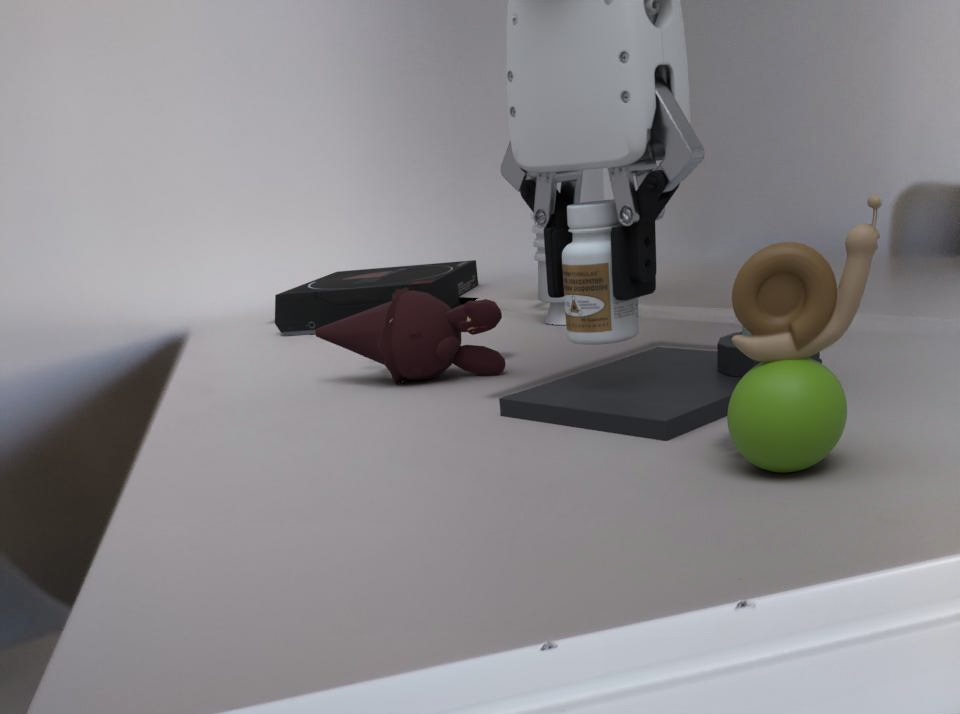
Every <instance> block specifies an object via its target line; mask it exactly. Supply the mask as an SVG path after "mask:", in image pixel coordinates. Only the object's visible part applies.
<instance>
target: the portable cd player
mask: <svg viewBox="0 0 960 714" xmlns="http://www.w3.org/2000/svg"><path fill="white" fill-rule="evenodd" d="M478 286H479V277H478V267H477V259H473V260H471V259H470V260H461V261H449V262H438V263H437V262H436V263H435V262H434V263H424V264H412V265H411V264H410V265H401V266H388V267H375V268H363V269H353V270H341V271H340V270H339V271H335V272H332V273H329V274H327V275H325V276H322V277H319V278H317V279H314V280H311V281H309V282H306V283H304V284H300V285H298V286H295V287H292V288H290V289H288V290H284V291H282V292H280V293H277V294H274V295H275V297H274V324H275V326H276V328H277V330H278V331H279V332H280V334H281V335H282V337H286V336H289V337H290V336H304V334H305V335H315V330H316V329H318V328H320V327H322V326H325V325H328V324H330V323H333V322H336V321H339V320H341V319H344V318H347V317H349V316H352V315H355V314H357V313H360V312H363V311H366V310H368V309H371V308H374V307H376V306H379V305H382V304H384V303H387V302H390V301H393V298H392V295H393V293H394V292H395V291H396V289H400V290H401V289H403V288H405V287H406V288H408V289H409V291H412V290H413V291H419V292H425V293H429V294H430V295H432V296H434V297H436V298H438V299H439V300H441V301H442V302H444V303H445V304H447V305H448V306H449V307H450V308H451V309H454V308H456V307H458V306H460V305H464V304H465V303H466V302H468V301H475V300H476V299H478V298H479V297H465V296H463V295H466V294H467V293H468V292H470V291H472V290H474V289H475V288H477V287H478ZM478 300H479V299H478ZM476 301H477V300H476Z"/></svg>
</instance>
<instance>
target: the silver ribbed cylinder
mask: <svg viewBox="0 0 960 714" xmlns="http://www.w3.org/2000/svg"><path fill="white" fill-rule="evenodd" d="M560 189H561V182H559V183H557V190H558V191H559V192H560ZM600 200H605V181H604V168H600V169H588V170H583V176H582V185H581V194H580V203H583V202H591V201H600ZM533 215H534V213H533V211H532V210H531V213H530V219H531V220H534V219H533ZM543 229H544V228H538V227H537V226H536V225H535V224H533V226H532V227H531V232H532V234H535V238H534V239H533V241H532V246H533V247H535V248H536V250H537V251H535V253H534V254H533V258H534V259H533V260H534V261H536V262H537V299H538V301H540V302H541V303H547V304H548V303H549V306H548V309H547V313H546V316H545V318H544V323H545V324H547V323H548V324H547V325H552V324H553V325H554V326H566V315H565V300H564V297H560V298H551V297H550V296H549V295H548V288H547V274H546V260H545V245H544V231H543Z"/></svg>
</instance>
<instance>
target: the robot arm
mask: <svg viewBox="0 0 960 714" xmlns="http://www.w3.org/2000/svg"><path fill="white" fill-rule="evenodd" d="M685 34H686V33H685V23H684V17H683V11H682V4H681V0H507V14H506V37H505V38H506V39H505V40H506V41H505V75H506V104H507V119H508V131H509V139H510V140H509V143H508V145H507V148H506V151H505V154H504V156H503V159H502V161H501V162H502V163H501V164H500V174H501V176H502V177H503V179H505V181H506V182H507V183H509V184H510V185H511V186H512V187H513V188H514V190H516V191H517V192H518V193H520V197H521V198H522V200H523V201H524V202H525V204H526V205H527V207H528V208H529V209H530V211H531V212H532V211H533V213H534V215H533V219H532V220H533V223H534V225H536V226H537V227H538V228H544V229H543V231H544V245H545V260H546V274H547V288H548V295H549V296H550V297H551V298H560V297H564V286H563V269H562V252H563V249H564V248H565V247H566V246H567V245H568V244H570V243H572V241H573V237H572V236H573V234H572V232H569V231H568V230H569V229H570V228H569V226H568V222H567V206H568V205H572V204H576V203H580V194H581V185H582V176H583V170H588V169H600V168H603V169H607V173H608V177H609V181H610V186H611V190H612V196H613V199H614V201H615V205H616V210H617V215H618V219H619V221H620V223H621V226H616V227H611V230H612V231H611V235H610V236H611V258H612V281H613V295H614V297H615V298H616V300H624V301H626V300H630V299H633V298H637V297H638V298H640V297H644V296H648V295H651V294H653V293H654V292H656V289H657V238H656V237H657V236H656V235H657V233H656V221H660V220H661V219H662V218H663V217H664V215H665V214H666V206H667V204H668V203H669V202H670V200H671V199H672V197H673V196H674V195H675V193H676V191H677V190H679V189H678V188H679V187H680V185H681V182H683V181H685V180H686V178H687V177H688V176H690V174H692V172H693V171H694V170H695V169H696V168H697V167H698V166H699V165H700V164H701V163H702V162H703V160H704V158H705V154H706V153H705V149H704V146H703V144H702V142H701V141H700V139H699V138H698V136H697V134H696V132H695V130H694V129H693V127H692V124H691V98H690V97H691V96H690V79H689V65H688V64H689V63H688V52H687V44H686V35H685ZM659 161H660V162H659ZM657 162H659V165H658V164H657ZM634 177H635V179H634ZM635 181H636V183H635ZM559 182H561V189H560V192H559V191H558V190H557V183H559ZM636 186H637V188H636Z"/></svg>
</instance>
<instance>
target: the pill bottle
mask: <svg viewBox="0 0 960 714" xmlns="http://www.w3.org/2000/svg"><path fill="white" fill-rule="evenodd" d="M567 222H568V226H569V228H570V229H569V230H568V231H569V232H572V234H573V236H572V237H573V241H572V243H570V244H568V245H567V246H566V247H565V248H564V249H563V252H562V269H563V286H564V300H565V315H566V325H565V327H566V337H567V340H568V341H569V342H570V343H573V344H577V345H590V346H591V345H610V344H617V343H621V342H625V341H628V340H631V339H633V338H635V337H636V336H638V334H639V331H640V319H639V317H640V316H639V297H637V298H633V299H630V300H626V301H624V300H616V298H615V297H614V295H613V281H612V258H611V236H610V235H611V231H612V230H611V227H616V226H621V223H620V221H619V219H618V215H617V210H616V205H615V201H614V198H613V199H604V200H600V201H591V202H583V203H576V204H572V205H568V206H567Z"/></svg>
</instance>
